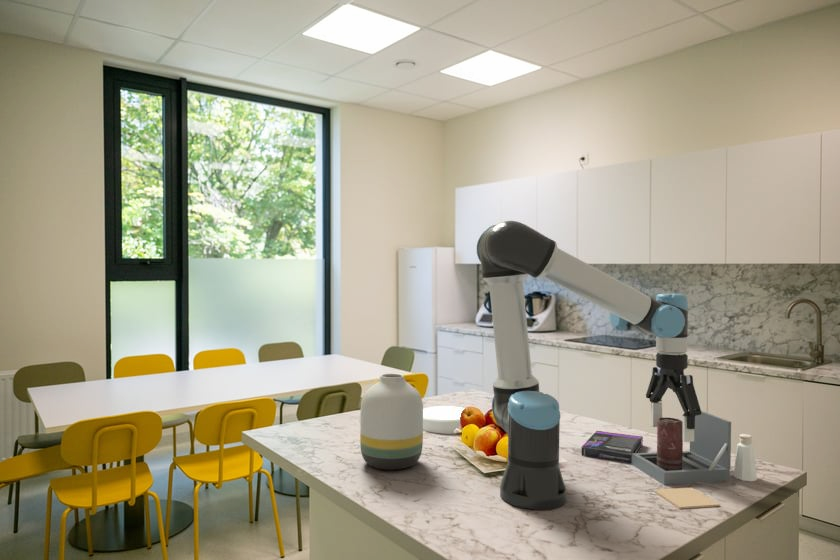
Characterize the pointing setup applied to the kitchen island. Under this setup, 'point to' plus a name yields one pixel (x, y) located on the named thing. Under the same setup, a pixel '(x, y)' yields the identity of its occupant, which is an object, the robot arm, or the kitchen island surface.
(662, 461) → the can
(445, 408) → the container
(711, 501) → the mat
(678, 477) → the case
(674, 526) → the kitchen island surface
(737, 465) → the salt shaker
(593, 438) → the box
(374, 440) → the vase
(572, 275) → the robot arm
